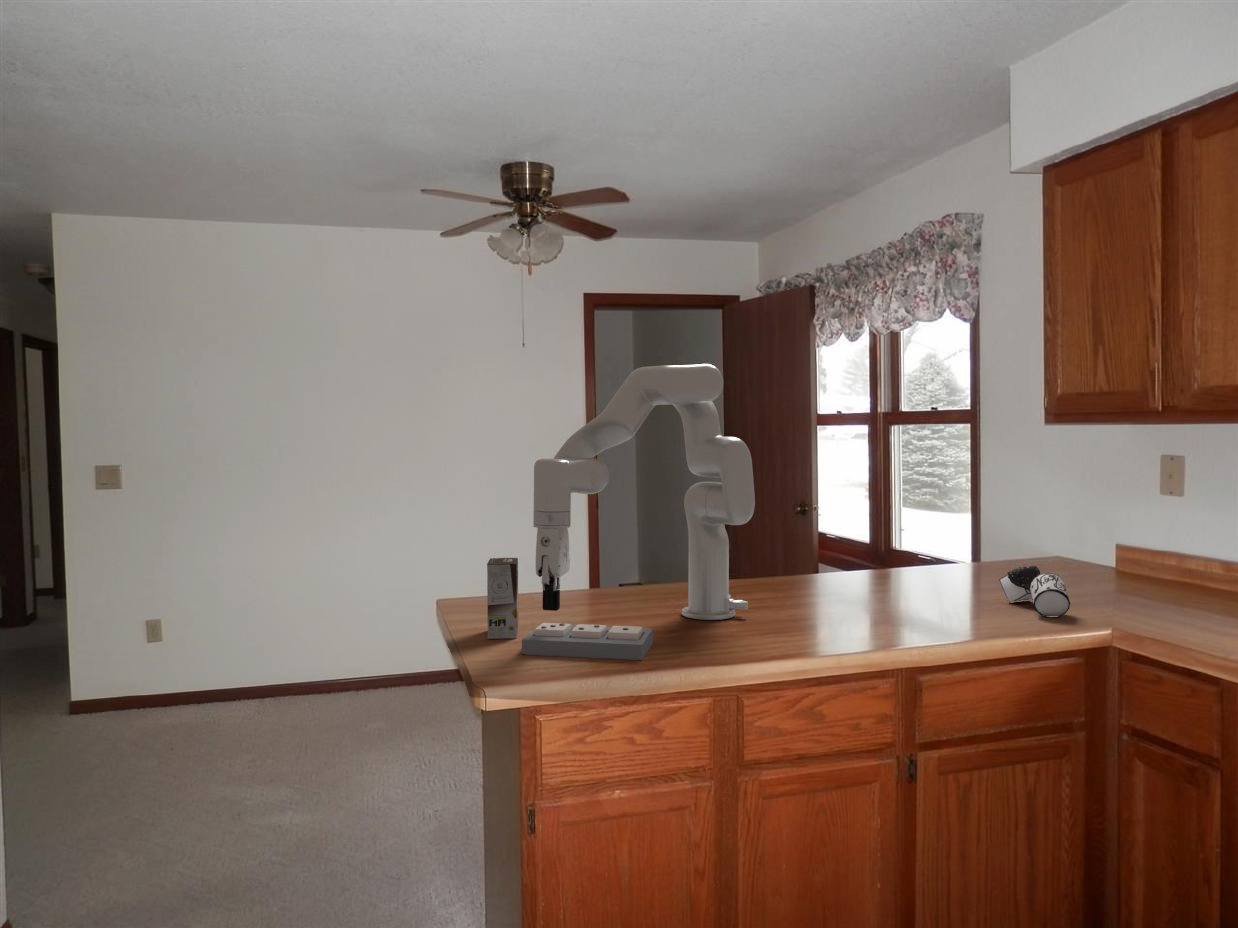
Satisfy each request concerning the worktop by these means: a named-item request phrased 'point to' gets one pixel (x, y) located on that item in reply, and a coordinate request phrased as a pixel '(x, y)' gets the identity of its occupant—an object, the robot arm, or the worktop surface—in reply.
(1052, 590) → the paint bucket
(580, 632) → the tile two
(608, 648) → the board
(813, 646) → the worktop surface
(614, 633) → the tile one
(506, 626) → the coffee box
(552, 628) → the tile three
